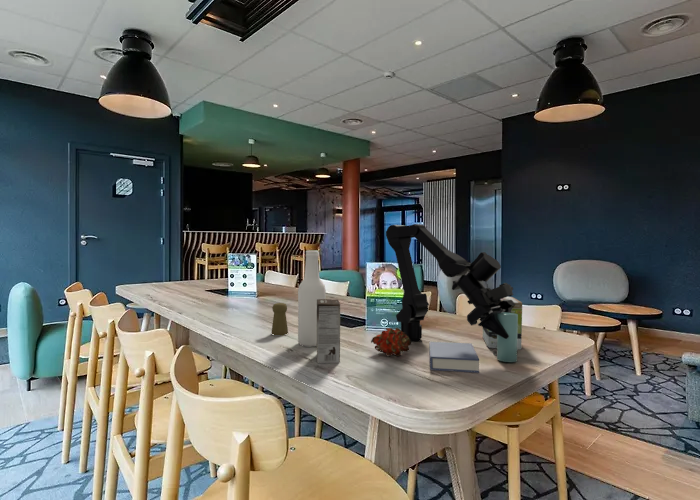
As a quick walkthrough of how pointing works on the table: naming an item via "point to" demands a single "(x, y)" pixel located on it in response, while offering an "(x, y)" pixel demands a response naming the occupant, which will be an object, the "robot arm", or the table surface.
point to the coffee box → (328, 331)
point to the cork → (279, 319)
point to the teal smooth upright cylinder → (509, 345)
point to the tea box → (517, 309)
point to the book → (453, 357)
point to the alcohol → (309, 300)
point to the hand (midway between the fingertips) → (512, 336)
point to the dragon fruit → (392, 342)
